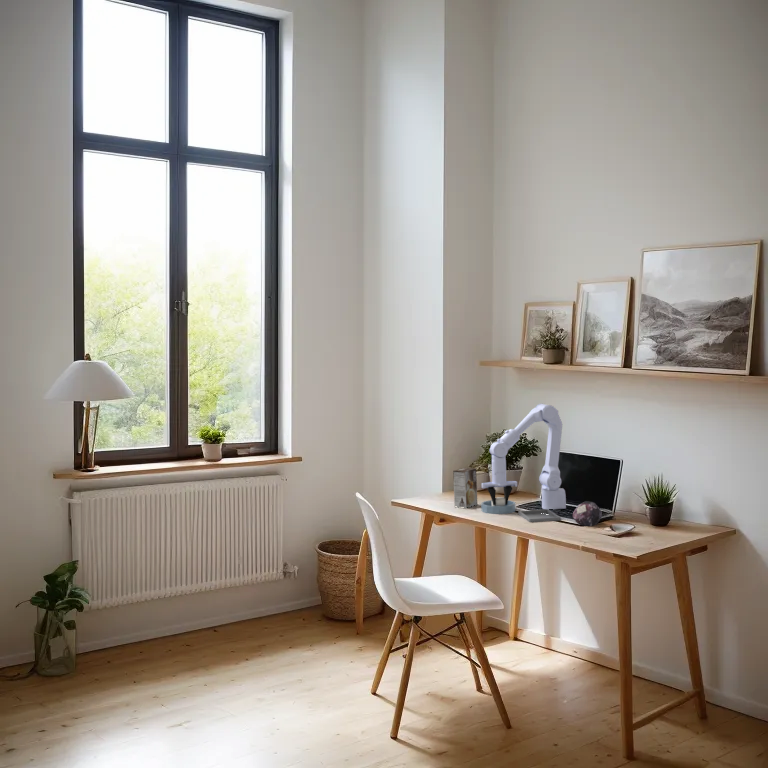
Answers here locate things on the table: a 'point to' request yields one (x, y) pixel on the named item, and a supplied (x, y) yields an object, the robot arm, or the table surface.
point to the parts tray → (539, 515)
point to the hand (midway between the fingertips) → (499, 504)
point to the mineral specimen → (587, 514)
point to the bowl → (498, 508)
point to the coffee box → (465, 487)
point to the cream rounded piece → (500, 501)
